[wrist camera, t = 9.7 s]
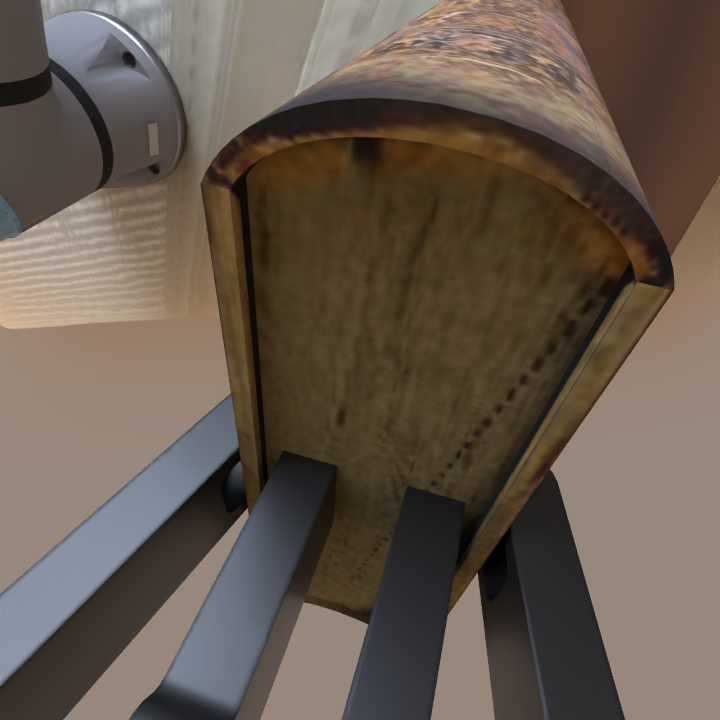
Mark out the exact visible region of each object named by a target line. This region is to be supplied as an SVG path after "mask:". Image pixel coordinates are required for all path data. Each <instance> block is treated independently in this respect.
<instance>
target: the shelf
mask: <svg viewBox="0 0 720 720" xmlns="http://www.w3.org/2000/svg"><path fill="white" fill-rule="evenodd" d="M561 2H562V5H563V7H564V9H565V12H566V14H567V16H568V19H569V21H570V23H571V25H572V28H573V30H574V32H575V35H576V37H577V39H578V42H579V44H580V46H581V49H582V51H583V53H584V56H585V58H586V60H587V63H588V65H589V67H590V70H591V72H592V74H593V77H594V79H595V81H596V83H597V86H598V88H599V90H600V93H601V95H602V97H603V100H604V102H605V104H606V107H607V109H608V111H609V114H610V116H611V118H612V121H613V123H614V125H615V128H616V130H617V132H618V134H619V137H620V139H621V141H622V144H623V146H624V148H625V151H626V153H627V155H628V158H629V160H630V162H631V165H632V167H633V169H634V172H635V174H636V176H637V179H638V181H639V183H640V186H641V188H642V190H643V192H644V195H645V197H646V199H647V202H648V204H649V206H650V209H651V211H652V213H653V216H654V218H655V220H656V223H657V225H658V227H659V230H660V232H661V234H662V237H663V239H664V241H665V244H666V246H667V249H668V251H669V254H670V257H671V255H672V254H673V252H674V250H675V249H676V247H677V245H678V244H679V242H680V240H681V239H682V237H683V235H684V234H685V232H686V230H687V229H688V227H689V225H690V224H691V222H692V220H693V219H694V217H695V215H696V214H697V212H698V210H699V209H700V207H701V205H702V204H703V202H704V200H705V199H706V197H707V195H708V194H709V192H710V190H711V189H712V187H713V185H714V184H715V182H716V180H717V179H718V177H719V175H720V0H561Z"/></svg>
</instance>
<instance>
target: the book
mask: <svg viewBox="0 0 720 720" xmlns="http://www.w3.org/2000/svg"><path fill="white" fill-rule="evenodd" d="M201 190H202V197H203V204H204V211H205V218H206V225H207V231H208V238H209V245H210V252H211V259H212V266H213V273H214V279H215V286H216V293H217V300H218V307H219V314H220V321H221V327H222V334H223V341H224V348H225V355H226V361H227V368H228V375H229V382H230V389H231V396H232V403H233V410H234V417H235V424H236V430H237V437H238V444H239V451H240V458H241V465H242V472H243V478H244V485H245V492H246V499H247V506H248V512H249V515H250V513H251V512H252V510H253V508H254V506H255V504H256V502H257V500H258V498H259V496H260V494H261V493H262V491H263V489H264V487H265V485H266V483H267V481H268V479H269V477H270V475H271V474H272V472H273V470H274V468H275V466H276V464H277V462H278V460H279V458H280V456H281V455H282V453H283V451H287V452H291V453H294V454H298V455H301V456H305V457H308V458H312V459H315V460H319V461H322V462H326V463H329V464H333V465H336V466H338V467H337V481H336V495H335V509H334V522H333V524H332V527H331V530H330V533H329V535H328V538H327V541H326V543H325V546H324V549H323V551H322V554H321V557H320V559H319V562H318V565H317V567H316V570H315V573H314V576H313V578H312V581H311V584H310V586H309V589H308V592H307V594H306V597H305V600H304V602H306V603H310V604H314V605H318V606H321V607H324V608H328V609H331V610H334V611H337V612H340V613H342V614H345V615H347V616H350V617H353V618H355V619H357V620H360V621H362V622H365V623H367V624H369V621H370V617H371V613H372V610H373V606H374V603H375V599H376V596H377V592H378V588H379V585H380V581H381V578H382V574H383V571H384V567H385V563H386V560H387V556H388V553H389V549H390V546H391V542H392V538H393V535H394V531H395V528H396V524H397V521H398V517H399V513H400V510H401V506H402V503H403V499H404V496H405V492H406V488H407V486H410V487H414V488H417V489H421V490H424V491H428V492H431V493H435V494H438V495H442V496H445V497H449V498H452V499H456V500H459V501H463V502H466V506H465V512H464V518H463V524H462V530H461V536H460V542H459V548H458V555H457V561H456V567H455V573H454V579H453V585H452V591H451V597H450V603H449V610H448V614H449V612H450V611H451V610H452V608H453V607H454V605H455V604H456V602H457V601H458V600H459V598H460V597H461V595H462V594H463V592H464V591H465V590H466V588H467V586H468V585H469V584H470V582H471V581H472V580H473V578H474V577H475V575H476V574H477V572H478V571H479V569H480V568H481V567H482V565H483V564H484V562H485V561H486V559H487V558H488V557H489V555H490V554H491V552H492V551H493V549H494V548H495V547H496V545H497V544H498V542H499V541H500V539H501V538H502V536H503V535H504V534H505V532H506V531H507V529H508V528H509V526H510V525H511V524H512V522H513V521H514V519H515V518H516V516H517V515H518V514H519V512H520V511H521V509H522V508H523V506H524V505H525V503H526V502H527V501H528V499H529V498H530V496H531V495H532V493H533V492H534V491H535V489H536V488H537V486H538V485H539V483H540V482H541V481H542V479H543V478H544V476H545V475H546V473H547V472H548V470H549V469H550V468H551V466H552V465H553V463H554V462H555V460H556V459H557V458H558V456H559V455H560V453H561V452H562V450H563V449H564V447H565V446H566V444H567V443H568V442H569V440H570V439H571V437H572V436H573V435H574V433H575V432H576V430H577V429H578V427H579V426H580V424H581V423H582V422H583V420H584V419H585V417H586V416H587V415H588V413H589V412H590V410H591V409H592V407H593V406H594V404H595V403H596V402H597V400H598V399H599V397H600V396H601V394H602V393H603V392H604V390H605V389H606V387H607V386H608V384H609V383H610V382H611V380H612V379H613V377H614V376H615V374H616V373H617V371H618V370H619V369H620V367H621V366H622V364H623V363H624V361H625V360H626V359H627V357H628V356H629V354H630V353H631V351H632V350H633V349H634V346H636V344H637V343H638V341H639V340H640V338H641V337H642V336H643V334H644V333H645V331H646V330H647V328H648V327H649V326H650V324H651V323H652V321H653V320H654V318H655V317H656V316H657V314H658V313H659V311H660V310H661V308H662V307H663V305H664V304H665V303H666V301H667V300H668V298H669V297H670V295H671V294H672V293H673V291H674V273H673V266H672V262H671V258H670V254H669V251H668V249H667V246H666V244H665V241H664V239H663V237H662V234H661V232H660V230H659V227H658V225H657V223H656V220H655V218H654V216H653V213H652V211H651V209H650V206H649V204H648V202H647V199H646V197H645V195H644V192H643V190H642V188H641V186H640V183H639V181H638V179H637V176H636V174H635V172H634V169H633V167H632V165H631V162H630V160H629V158H628V155H627V153H626V151H625V148H624V146H623V144H622V141H621V139H620V137H619V134H618V132H617V130H616V128H615V125H614V123H613V121H612V118H611V116H610V114H609V111H608V109H607V107H606V104H605V102H604V100H603V97H602V95H601V93H600V90H599V88H598V86H597V83H596V81H595V79H594V77H593V74H592V72H591V70H590V67H589V65H588V63H587V60H586V58H585V56H584V53H583V51H582V49H581V46H580V44H579V42H578V39H577V37H576V35H575V32H574V30H573V28H572V25H571V23H570V21H569V19H568V16H567V14H566V12H565V9H564V7H563V5H562V2H561V0H444V1H443V2H441V3H440V4H438V5H436V6H435V7H433V8H432V9H430V10H429V11H427V12H426V13H424V14H423V15H421V16H419V17H418V18H416V19H415V20H413V21H412V22H410V23H409V24H407V25H406V26H404V27H402V28H401V29H399V30H398V31H396V32H395V33H393V34H392V35H390V36H389V37H387V38H386V39H384V40H382V41H381V42H379V43H378V44H376V45H375V46H373V47H372V48H370V49H369V50H367V51H365V52H364V53H362V54H361V55H359V56H358V57H356V58H355V59H353V60H352V61H350V62H348V63H347V64H345V65H344V66H342V67H341V68H339V69H338V70H336V71H335V72H333V73H331V74H330V75H328V76H327V77H325V78H324V79H322V80H321V81H319V82H318V83H316V84H314V85H313V86H311V87H310V88H308V89H307V90H305V91H304V92H302V93H301V94H299V95H298V96H296V97H294V98H293V99H291V100H290V101H288V102H287V103H285V104H284V105H282V106H281V107H279V108H277V109H276V110H274V111H273V112H271V113H270V114H268V115H267V116H265V117H264V118H262V119H260V120H259V121H257V122H256V123H254V124H253V125H251V126H250V127H248V128H247V129H245V130H244V131H243V132H241V133H240V134H239V135H237V136H236V137H234V138H233V139H232V140H231V141H230V142H229V143H228V144H227V145H226V146H225V147H224V148H223V149H222V150H221V151H220V152H219V153H218V155H217V156H216V157H215V158H214V160H213V161H212V163H211V164H210V166H209V168H208V169H207V171H206V173H205V175H204V177H203V179H202V182H201Z"/></svg>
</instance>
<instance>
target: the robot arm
mask: <svg viewBox="0 0 720 720" xmlns="http://www.w3.org/2000/svg"><path fill="white" fill-rule="evenodd" d="M185 140H186V125H185V117H184V112H183V107H182V104H181V100H180V97H179V95H178V92H177V89H176V87H175V85H174V82H173V80H172V78H171V76H170V75H169V73H168V71H167V69H166V68H165V66H164V64H163V63H162V61H161V60H160V58H159V57H158V56H157V54H156V53H155V52H154V50H153V49H152V48H151V47H150V46H149V45H148V43H147V42H146V41H145V40H144V39H143V38H142V37H141V36H140V35H139V34H138V33H136V32H135V31H134V30H133V29H132V28H130V27H129V26H127V25H126V24H125V23H123V22H122V21H120V20H118V19H116V18H115V17H112V16H110V15H108V14H105V13H102V12H99V11H94V10H77V11H69V12H65V13H62V14H60V15H57V16H55V17H52V18H50V19H49V20H47V21H46V22H45V23H43V17H42V10H41V4H40V0H0V241H2V240H5V239H7V238H14V237H16V236H18V235H20V233H22V232H24V231H26V230H27V229H29V228H31V227H33V226H35V225H36V224H38V223H40V222H42V221H43V220H45V219H47V218H49V217H51V216H52V215H54V214H56V213H58V212H59V211H61V210H63V209H65V208H67V207H68V206H70V205H72V204H74V203H75V202H77V201H79V200H81V199H82V198H84V197H86V196H88V195H89V194H91V193H93V192H95V191H97V190H99V189H101V188H118V187H135V186H143V185H147V184H150V183H153V182H156V181H158V180H160V179H161V178H163V177H165V176H166V175H168V174H169V173H171V172H172V171H173V170H174V169H175V167H176V166H177V165H178V163H179V161H180V159H181V157H182V154H183V151H184V147H185ZM337 467H338V466H336V465H333V464H329V463H326V462H322V461H319V460H315V459H312V458H308V457H305V456H301V455H298V454H294V453H291V452H287V451H283V453H282V455H281V456H280V458H279V460H278V462H277V464H276V466H275V468H274V470H273V472H272V474H271V475H270V477H269V479H268V481H267V483H266V485H265V487H264V489H263V491H262V493H261V494H260V496H259V498H258V500H257V502H256V504H255V506H254V508H253V510H252V512H251V513H250V515H249V517H248V519H247V521H246V523H245V525H244V527H243V529H242V531H241V532H240V534H239V537H238V538H237V540H236V542H235V544H234V546H233V548H232V550H231V552H230V553H229V555H228V557H227V559H226V561H225V563H224V565H223V567H222V569H221V570H220V573H219V574H218V576H217V578H216V580H215V582H214V584H213V586H212V588H211V590H210V591H209V593H208V595H207V597H206V599H205V601H204V603H203V605H202V607H201V608H200V611H199V612H198V614H197V616H196V618H195V620H194V622H193V624H192V626H191V627H190V629H189V631H188V633H187V635H186V637H185V639H184V641H183V643H182V645H181V647H180V648H179V651H178V652H177V654H176V656H175V658H174V660H173V662H172V664H171V665H170V667H169V669H168V671H167V673H166V675H165V677H164V678H163V680H162V682H161V684H160V685H159V686H158V688H157V689H156V690H155V692H153V693H152V694H151V695H150V696H149V697H148V698H146V699H145V700H144V701H143V702H142V703H141V704H140V705H139V707H138V708H137V709H136V711H135V712H134V713H133V714H132V716H131V717H130V719H129V720H260V718H261V715H262V713H263V710H264V707H265V705H266V702H267V699H268V697H269V694H270V691H271V689H272V686H273V683H274V680H275V678H276V675H277V672H278V670H279V667H280V664H281V662H282V659H283V656H284V654H285V651H286V648H287V646H288V643H289V640H290V637H291V634H292V632H293V629H294V627H295V624H296V621H297V619H298V616H299V613H300V610H301V608H302V605H303V602H304V600H305V597H306V594H307V592H308V589H309V586H310V584H311V581H312V578H313V576H314V573H315V570H316V567H317V565H318V562H319V559H320V557H321V554H322V551H323V549H324V546H325V543H326V541H327V538H328V535H329V533H330V530H331V527H332V524H333V522H334V509H335V495H336V481H337ZM465 506H466V502H463V501H459V500H456V499H452V498H449V497H445V496H442V495H438V494H435V493H431V492H428V491H424V490H421V489H417V488H414V487H410V486H407V488H406V492H405V496H404V499H403V503H402V506H401V510H400V513H399V517H398V521H397V524H396V528H395V531H394V535H393V538H392V542H391V546H390V549H389V553H388V556H387V560H386V563H385V567H384V571H383V574H382V578H381V581H380V585H379V588H378V592H377V596H376V599H375V603H374V606H373V610H372V613H371V617H370V621H369V624H368V628H367V631H366V635H365V638H364V642H363V646H362V649H361V653H360V657H359V660H358V664H357V667H356V671H355V674H354V678H353V682H352V685H351V688H350V692H349V696H348V699H347V703H346V706H345V710H344V714H343V717H342V720H430V719H431V713H432V707H433V701H434V695H435V689H436V683H437V676H438V671H439V665H440V658H441V652H442V646H443V640H444V634H445V628H446V622H447V615H448V610H449V603H450V597H451V591H452V585H453V579H454V573H455V567H456V561H457V555H458V548H459V542H460V536H461V530H462V524H463V518H464V512H465ZM247 508H248V506H247V499H246V492H245V485H244V478H243V472H242V465H241V458H240V451H239V444H238V437H237V430H236V424H235V417H234V410H233V403H232V396H231V394H229V395H228V396H227V397H226V398H225V399H224V400H223V401H221V403H219V404H218V405H217V406H216V407H215V408H213V409H212V410H211V411H210V412H209V413H208V414H207V415H205V416H204V417H203V418H202V419H201V420H200V421H198V423H196V424H195V425H194V426H193V427H192V428H190V429H189V430H188V431H187V432H186V433H185V434H184V435H183V436H181V437H180V438H179V439H178V440H177V441H176V442H174V443H173V444H172V445H171V446H170V447H169V448H167V449H166V450H165V451H164V452H163V453H162V454H161V455H159V456H158V457H157V458H156V459H155V460H154V461H153V462H151V463H150V464H149V465H148V466H147V467H146V468H144V469H143V470H142V471H141V472H140V473H139V474H138V475H136V476H135V477H134V478H133V479H132V480H131V481H130V482H128V483H127V484H126V485H125V486H124V487H123V488H122V489H120V490H119V491H118V492H117V493H116V494H115V495H113V496H112V497H111V498H110V499H109V500H108V501H107V502H106V503H104V504H103V505H102V506H101V507H100V508H99V509H97V510H96V511H95V512H94V513H93V514H92V515H91V516H89V517H88V518H87V519H86V520H85V521H84V522H83V523H81V524H80V525H79V526H78V527H77V528H76V529H74V530H73V531H72V532H71V533H70V534H69V535H68V536H66V537H65V538H64V539H63V540H62V541H61V542H60V543H58V544H57V545H56V546H55V547H54V548H53V549H52V550H50V551H49V552H48V553H47V554H46V555H45V556H44V557H42V558H41V559H40V560H39V561H38V562H37V563H35V564H34V565H33V566H32V567H31V568H30V569H29V570H27V571H26V572H25V573H24V574H23V575H22V576H20V577H19V578H18V579H17V580H16V581H15V582H14V583H12V584H11V585H10V586H9V587H8V588H7V589H6V590H4V591H3V592H2V593H1V594H0V720H63V719H64V718H65V717H66V716H67V715H68V713H69V712H70V711H71V710H72V709H73V708H74V707H75V705H76V704H77V703H78V702H79V701H80V700H81V698H82V697H83V696H84V695H85V694H86V693H87V692H88V690H89V689H90V688H91V687H92V686H93V684H95V682H96V681H97V680H98V679H99V678H100V677H101V676H102V674H103V673H104V672H105V671H106V670H107V668H109V666H110V665H111V664H112V663H113V662H114V660H115V659H116V658H117V657H118V656H119V655H120V654H121V653H122V651H123V650H124V649H125V648H126V647H127V645H128V644H129V643H130V642H131V641H132V640H133V639H134V638H135V636H136V635H137V634H138V633H139V632H140V631H141V630H142V628H143V627H144V626H145V625H146V624H147V623H148V621H149V620H150V619H151V618H152V617H153V616H154V615H155V614H156V612H157V611H158V610H159V608H161V607H162V605H163V604H164V603H165V602H166V601H167V600H168V599H169V597H170V596H171V595H172V594H173V593H174V592H175V590H176V589H177V588H178V587H179V586H180V585H181V584H182V582H183V581H184V580H185V579H186V578H187V577H188V576H189V574H190V573H191V572H192V571H193V570H194V569H195V567H196V566H197V565H198V564H199V563H200V562H201V561H202V560H203V558H204V557H205V556H206V555H207V554H208V553H209V551H210V550H211V549H212V548H213V547H214V546H215V545H216V543H217V542H218V541H219V540H220V539H221V538H222V536H223V535H224V534H225V533H226V532H227V530H229V528H230V527H231V526H232V525H233V524H234V523H235V522H236V520H237V519H238V518H239V517H240V516H241V515H242V514H243V512H244V511H245V510H246V509H247ZM478 579H479V587H480V595H481V605H482V613H483V621H484V629H485V638H486V647H487V656H488V664H489V672H490V681H491V689H492V698H493V707H494V715H495V720H625V718H624V714H623V711H622V707H621V704H620V701H619V697H618V693H617V690H616V686H615V683H614V679H613V676H612V673H611V669H610V665H609V662H608V658H607V655H606V651H605V648H604V644H603V640H602V637H601V633H600V630H599V627H598V623H597V620H596V616H595V613H594V609H593V606H592V602H591V598H590V595H589V591H588V588H587V584H586V581H585V577H584V574H583V570H582V567H581V564H580V560H579V556H578V553H577V549H576V546H575V542H574V539H573V535H572V531H571V528H570V524H569V521H568V518H567V514H566V510H565V507H564V503H563V500H562V496H561V493H560V489H559V486H558V482H557V480H556V478H555V476H554V474H553V473H552V471H551V470H550V469H549V470H548V472H547V473H546V475H545V476H544V478H543V479H542V481H541V482H540V483H539V485H538V486H537V488H536V489H535V491H534V492H533V493H532V495H531V496H530V498H529V499H528V501H527V502H526V503H525V505H524V506H523V508H522V509H521V511H520V512H519V514H518V515H517V516H516V518H515V519H514V521H513V522H512V524H511V525H510V526H509V528H508V529H507V531H506V532H505V534H504V535H503V536H502V538H501V539H500V541H499V542H498V544H497V545H496V547H495V548H494V549H493V551H492V552H491V554H490V555H489V557H488V558H487V559H486V561H485V562H484V564H483V565H482V567H481V568H480V569H479V571H478Z"/></svg>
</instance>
